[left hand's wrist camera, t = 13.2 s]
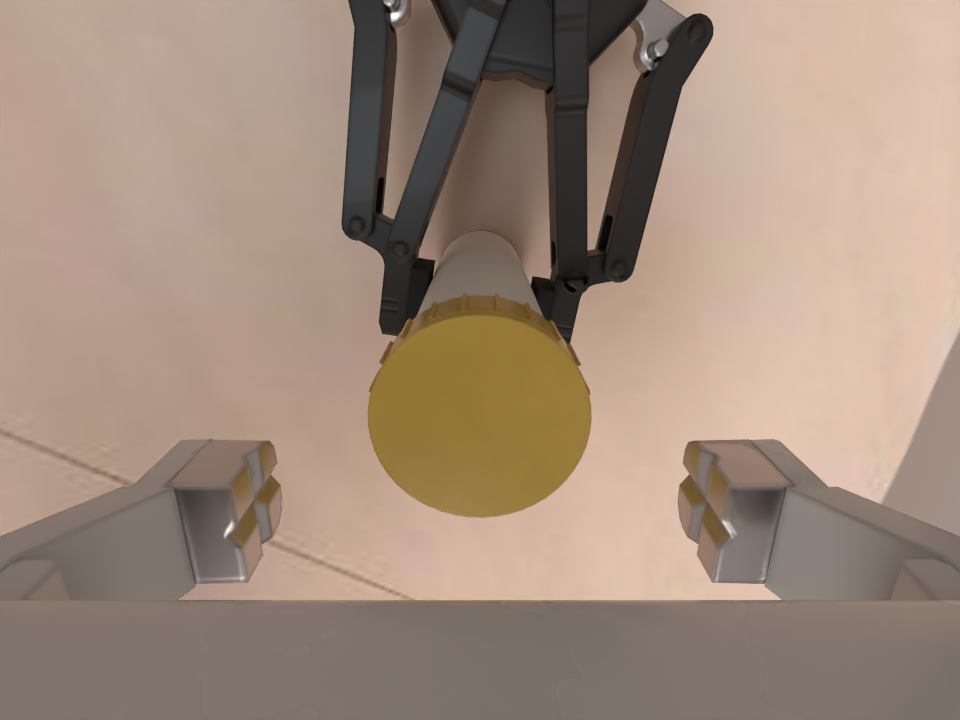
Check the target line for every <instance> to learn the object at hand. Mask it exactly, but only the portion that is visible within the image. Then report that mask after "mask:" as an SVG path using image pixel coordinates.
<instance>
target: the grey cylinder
mask: <svg viewBox="0 0 960 720" xmlns="http://www.w3.org/2000/svg"><path fill="white" fill-rule="evenodd" d="M463 293H467V296H473V295H486V296H494V295H495V293H496V294H499V297H501V298H506V299H509V300H512V301H515V302H518V303H520V304H523V305H524V304H525V303H528V304H529V305H530V308H531V309H532V310H534V311H535V312H537V313H539V314H540V315H541V316H543V315H542V312H541V310H540V307H539V305H538V303H537V300H536V298H535V296H534V293H533V291H532V288H531V286H530V284H529V281H528V279H527V276H526V274H525V272H524V269H523V267H522V264H521V262H520V260H519V257H518V255H517V253H516V251H515V249H514V248H513V247H512V245H511V244H510V243H509V242H508V241H507V240H505V239H504V238H503V237H501V236H499V235H497V234H495V233H492V232H488V231H472V232H468V233H465V234H463V235H461V236H459V237H458V238H456V239H455V240H453V241H452V242H451V243H450V244H449V246H448V247H447V248H446V250H445V251H444V253H443V255H442V258H441V260H440V262H439V265H438V267H437V269H436V272H435V274H434V277H433V279H432V281H431V284H430V286H429V288H428V291H427V293H426V295H425V298H424V300H423V302H422V305H421V307H420V309H419V312H418V314H417V316H418V315H419V314H421V313H422V312H424V311H425V310H427V309H429V308H431V306H432V303H434V302H437V304H439V303H441V302H444V301H447V300H450V299H454V298H458V297H462V295H463Z"/></svg>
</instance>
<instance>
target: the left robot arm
mask: <svg viewBox="0 0 960 720" xmlns="http://www.w3.org/2000/svg"><path fill="white" fill-rule="evenodd" d="M276 464H277V459H276V454H275V448H274V446H273V445H272V443H271V442H270V441H255V440H212V439H198V440H181V441H180V442H179V443H178V444H177V445H176V446H175V447H174V448H173V449H171V450H170V451H169V452H168V453H167V454H166V455H165V456H164V457H163V458H162V459H161V460H160V461H159V462H158V463H157V464H155V465H154V466H153V467H152V468H151V469H150V470H149V471H148V472H147V473H146V474H145V475H144V476H143V477H142V478H141V479H140V480H138V481H137V482H136V483H135V484H134V485H133V486H132V487H121V488H118V489H116V490H114V491H111V492H109V493H106V494H104V495H101V496H99V497H96V498H94V499H91V500H89V501H86V502H84V503H81V504H79V505H76V506H74V507H72V508H69V509H67V510H64V511H62V512H59V513H57V514H54V515H52V516H49V517H47V518H44V519H42V520H39V521H37V522H35V523H32V524H30V525H27V526H25V527H22V528H20V529H17V530H15V531H12V532H10V533H7V534H5V535H2V536H0V720H960V536H957V535H955V534H952V533H950V532H947V531H945V530H942V529H940V528H938V527H935V526H932V525H930V524H928V523H925V522H923V521H920V520H918V519H915V518H913V517H910V516H908V515H906V514H903V513H901V512H898V511H896V510H893V509H891V508H888V507H886V506H883V505H881V504H878V503H876V502H874V501H871V500H869V499H866V498H864V497H861V496H859V495H856V494H854V493H851V492H849V491H846V490H844V489H842V488H839V487H828V486H827V485H826V484H825V483H824V482H823V481H822V480H821V479H819V478H818V477H817V476H816V475H815V474H814V473H813V472H812V471H811V470H810V469H809V468H808V467H807V466H806V465H805V464H804V463H803V462H801V461H800V460H799V459H798V458H797V457H796V456H795V455H794V454H793V453H792V452H791V451H790V450H789V449H788V448H787V447H786V446H784V445H783V444H782V443H781V442H780V441H778V440H774V439H762V440H709V441H691V442H688V444H687V446H686V449H685V452H684V459H683V464H684V466H685V468H686V469H687V471H688V472H689V475H688V477H687V478H686V479H685V480H684V481H683V482H682V483H681V484H680V486H679V495H678V509H679V518H680V521H681V524H682V528H683V530H684V531H685V533H686V535H687V537H688V538H689V539H691V540H693V541H694V542H696V543H697V544H699V545H698V551H697V556H698V558H699V559H700V561H701V563H702V565H703V567H704V568H705V570H706V572H707V574H708V576H709V577H710V579H711V581H712V582H713V583H750V584H765V587H766V588H768V589H769V590H770V591H772V592H773V593H774V594H776V595H777V596H778V597H780V598H781V599H782V600H178V599H179V598H181V597H182V596H183V595H185V594H186V593H187V592H189V591H190V590H191V589H192V588H194V587H195V584H209V583H245V582H248V581H249V579H250V577H251V576H252V574H253V572H254V570H255V568H256V567H257V565H258V563H259V561H260V559H261V558H262V556H263V551H262V545H261V544H263V543H264V542H266V541H267V540H269V539H271V538H272V537H273V535H274V533H275V531H276V529H277V527H278V525H279V520H280V516H281V512H282V494H281V486H280V484H279V483H278V482H277V481H276V480H275V479H274V478H273V477H272V475H271V472H272V471H273V469H274V468H275V466H276Z"/></svg>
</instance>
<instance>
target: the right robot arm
mask: <svg viewBox="0 0 960 720" xmlns="http://www.w3.org/2000/svg"><path fill="white" fill-rule="evenodd" d="M348 1H349V5H350V10H351V14H352V18H353V22H354V26H355V31H354V46H353V61H352V76H351V91H350V106H349V121H348V136H347V151H346V166H345V181H344V196H343V211H342V229H343V231H344V233H345V235H347V236H348V237H349V238H350V239H353V240H359V241H361V242H363V243H365V244H367V245H368V246H370V247H372V248H374V249H375V250H377V251H378V252H379V253H380V254H381V256H382V258H383V260H384V264H385V269H384V279H383V288H382V299H381V307H380V308H381V309H380V317H379V324H380V327H381V331H382V334H388V335H394V336H398V335H399V334H400V332H401V331H402V330H403V328H404V326H405V324H406V321H407V320H408V319H409V318H410V319H411V320H413V319H414V318H415V317H416V316H417V314H418V312H419V309H420V307H421V305H422V302H423V300H424V298H425V295H426V293H427V291H428V288H429V286H430V284H431V281H432V279H433V272H434V264H435V260H428V259H422V258H418V255H419V248H420V247H421V245H422V244H421V243H422V241H423V238H424V235H425V233H426V230H427V227H428V224H429V222H430V219H431V216H432V214H433V211H434V208H435V206H436V203H437V200H438V197H439V195H440V192H441V189H442V187H443V184H444V181H445V178H446V176H447V173H448V170H449V168H450V165H451V162H452V160H453V157H454V154H455V151H456V149H457V146H458V143H459V141H460V138H461V135H462V133H463V130H464V127H465V124H466V122H467V119H468V116H469V114H470V111H471V108H472V106H473V103H474V101H475V99H476V96H477V94H478V91H479V88H480V86H481V83H482V80H483V79H486V80H491V81H501V80H510V79H517V80H519V81H521V82H523V83H525V84H527V85H529V86H531V87H533V88H536V89H542V90H545V111H546V117H547V140H548V177H549V214H550V251H551V270H552V272H551V277H550V280H549V279H546V278H540V277H534V276H533V277H532V282H531V288H532V291H533V293H534V296H535V298H536V300H537V303H538V305H539V307H540V310H541V312H542V315H543V317H544V318H545V319H546V320H547V321H550V320H552V321H553V322H554V323H555V325H556V327H557V330H558V332H559V333H560V335H561V336H562V338H563V339H564V340H565V342H566V344H569V343H570V341H571V336H572V332H573V327H574V323H575V318H576V314H577V310H578V305H579V301H580V297H581V295H582V293H583V292H585V291H586V290H587V289H588V287H590V286H591V285H595V284H599V283H605V282H610V281H613V282H623V281H625V280H627V279H628V278H629V277H630V276H631V275H632V273H633V271H634V267H635V263H636V259H637V256H638V252H639V248H640V244H641V240H642V237H643V233H644V229H645V225H646V221H647V218H648V214H649V210H650V206H651V203H652V199H653V195H654V191H655V187H656V184H657V180H658V176H659V172H660V168H661V165H662V161H663V157H664V153H665V150H666V146H667V142H668V138H669V134H670V131H671V127H672V123H673V119H674V116H675V112H676V108H677V104H678V100H679V97H680V93H681V89H682V86H683V85H684V83H685V81H686V80H687V78H688V77H689V75H690V73H691V72H692V70H693V69H694V67H695V65H696V64H697V62H698V61H699V59H700V57H701V56H702V54H703V53H704V51H705V49H706V48H707V46H708V45H709V43H710V41H711V39H712V36H713V25H712V21H711V20H710V19H709V18H708V17H707V16H706V15H703V14H693V15H691V16H690V17H688V18H686V17H684V16H683V15H681V14H680V13H679V12H677V11H676V10H674V9H673V8H671V7H670V6H669V5H667V4H666V3H664V2H663V1H662V0H431V1H432V3H433V5H434V8H435V10H436V12H437V14H438V16H439V18H440V21H441V23H442V25H443V27H444V29H445V31H446V34H447V36H448V38H449V40H450V42H451V45H452V47H453V48H452V51H451V54H450V57H449V60H448V63H447V65H446V68H445V71H444V75H443V79H442V83H441V87H440V90H439V93H438V96H437V99H436V102H435V104H434V107H433V110H432V113H431V116H430V119H429V122H428V124H427V127H426V130H425V133H424V136H423V139H422V142H421V145H420V147H419V150H418V153H417V156H416V159H415V162H414V165H413V167H412V170H411V173H410V176H409V179H408V182H407V185H406V187H405V190H404V193H403V196H402V199H401V202H400V205H399V208H398V210H397V213H396V216H395V219H394V220H393V219H391V218H389V217H387V216H385V215H384V214H383V206H384V195H385V184H386V173H387V162H388V151H389V140H390V129H391V118H392V107H393V95H394V84H395V73H396V62H397V37H396V29H395V28H397V27H400V26H403V25H404V24H405V23H406V22H407V21H408V19H409V17H410V14H411V1H412V0H348ZM628 26H630V27H631V28H632V29H633V30H634V32H635V34H636V38H637V42H636V47H635V51H634V54H633V61H634V65H635V66H636V68H637V69H638V70H639V71H640V72H642V73H641V75H640V77H639V79H638V81H637V84H636V86H635V88H634V91H633V95H632V98H631V101H630V105H629V110H628V114H627V118H626V122H625V126H624V131H623V135H622V139H621V143H620V147H619V152H618V156H617V160H616V164H615V168H614V172H613V177H612V181H611V185H610V189H609V193H608V198H607V202H606V206H605V210H604V214H603V219H602V223H601V227H600V231H599V235H598V240H597V244H596V248H595V249H594V250H589V251H587V107H588V101H589V67H590V66H591V65H592V64H593V63H594V62H595V61H596V59H597V58H598V57H599V56H600V55H601V54H602V53H603V52H604V51H605V50H606V49H607V48H608V47H609V46H610V45H611V44H612V43H613V42H614V41H615V40H616V39H617V37H618V36H619V35H620V34H621V33H622V32H623V31H624V30H625V29H626V28H627V27H628Z"/></svg>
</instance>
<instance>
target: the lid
mask: <svg viewBox="0 0 960 720" xmlns="http://www.w3.org/2000/svg"><path fill="white" fill-rule="evenodd" d="M380 363H381V364H382V366H381V368H380V369H379V371H378V373H377V375H376V377H375V379H374V381H373V383H372V385H371V387H370V390H369V392H371V394H370V397H369V405H368V427H369V433H370V438H371V441H372V444H373V447H374V450H375V453H376V455H377V457H378V459H379V461H380V463H381V464H382V466H383V467H384V469H385V470H386V472H387V473H388V475H389V476H390V477H391V478H392V479H393V480H394V482H395V483H396V484H397V485H398V486H399V487H401V488H402V489H403V490H404V491H405V492H406V493H408V494H409V495H410V496H412V497H413V498H415V499H416V500H418V501H419V502H421V503H423V504H425V505H427V506H429V507H431V508H434V509H436V510H439V511H442V512H445V513H449V514H453V515H458V516H464V517H480V518H483V517H496V516H501V515H506V514H511V513H514V512H517V511H520V510H523V509H525V508H528V507H530V506H532V505H534V504H536V503H538V502H540V501H541V500H543V499H545V498H546V497H548V496H549V495H550V494H551V493H553V492H554V491H555V490H557V489H558V488H559V487H560V486H561V485H562V484H563V483H564V482H565V481H566V480H567V478H568V477H569V476H570V475H571V473H572V472H573V471H574V469H575V468H576V466H577V464H578V463H579V461H580V459H581V457H582V455H583V453H584V450H585V448H586V445H587V441H588V438H589V434H590V427H591V404H590V398H589V395H590V390H589V388H588V386H587V384H586V382H585V380H584V378H583V376H582V374H581V372H580V370H579V368H578V366H580V365H581V364H580V362H579V360H578V358H577V356H576V354H575V352H574V350H573V348H572V346H571V344H570V343H569V344H566V342H565V340H564V339H563V338H562V336H561V335H560V333H559V332H558V330H557V327H556V325H555V323H554V322H553V321H552V320H550V321H547V320H546V319H545V318H544V317H543V316H541V315H540V314H539V313H537V312H535V311H534V310H532V309H531V308H530V305H529V304H528V303H525V304H524V305H523V304H520V303H518V302H515V301H512V300H509V299H506V298H501V297H499V294H496V293H495V295H494V296H486V295H473V296H467V293H463V295H462V297H458V298H454V299H450V300H447V301H444V302H441V303H439V304H437V302H434V303H432V306H431V308H429V309H427V310H425V311H424V312H422V313H421V314H419V315H418V316H416V317H415V318H414V319H413V320H411V319H410V318H409V319H408V320H407V321H406V324H405V326H404V328H403V330H402V331H401V332H400V334H399V335H398V336H397V338H396V339H395V341H394V343H393V342H391V341H390V343H389V344H388V346H387V348H386V350H385V352H384V354H383V356H382V358H381V360H380Z"/></svg>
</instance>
